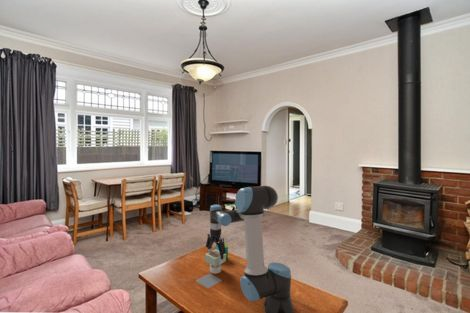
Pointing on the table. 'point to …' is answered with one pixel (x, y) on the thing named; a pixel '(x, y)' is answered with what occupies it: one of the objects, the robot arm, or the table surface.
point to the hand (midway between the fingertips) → (215, 260)
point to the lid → (214, 257)
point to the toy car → (225, 249)
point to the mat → (208, 280)
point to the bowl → (215, 268)
